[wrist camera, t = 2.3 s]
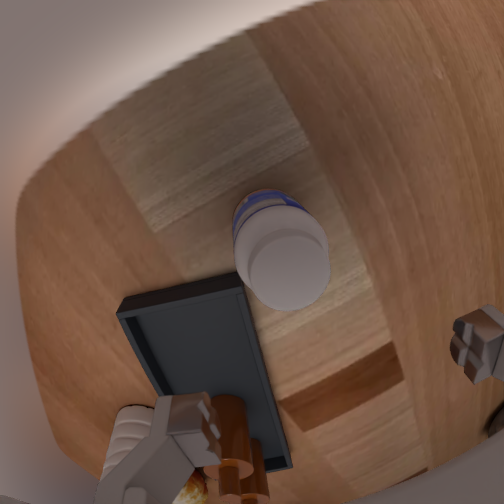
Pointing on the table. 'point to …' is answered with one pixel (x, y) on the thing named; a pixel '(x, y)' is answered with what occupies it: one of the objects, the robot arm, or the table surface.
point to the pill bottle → (280, 250)
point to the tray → (207, 351)
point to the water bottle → (127, 434)
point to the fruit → (193, 490)
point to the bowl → (497, 424)
